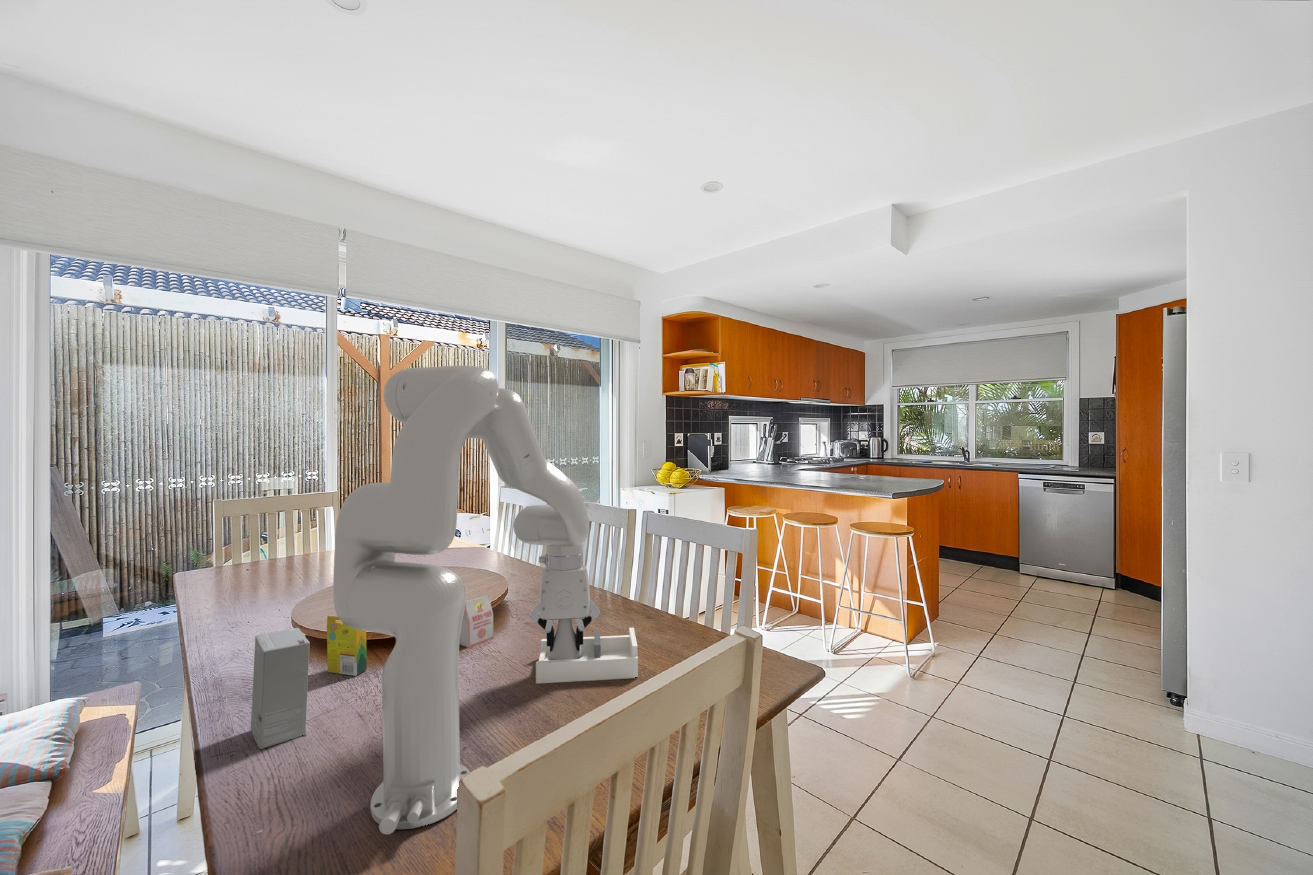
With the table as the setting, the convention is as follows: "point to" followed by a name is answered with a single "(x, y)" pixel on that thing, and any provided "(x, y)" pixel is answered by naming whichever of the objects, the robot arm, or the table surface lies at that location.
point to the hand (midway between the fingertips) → (565, 647)
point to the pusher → (597, 644)
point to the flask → (565, 642)
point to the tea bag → (477, 622)
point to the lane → (592, 661)
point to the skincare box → (279, 687)
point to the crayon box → (345, 648)
